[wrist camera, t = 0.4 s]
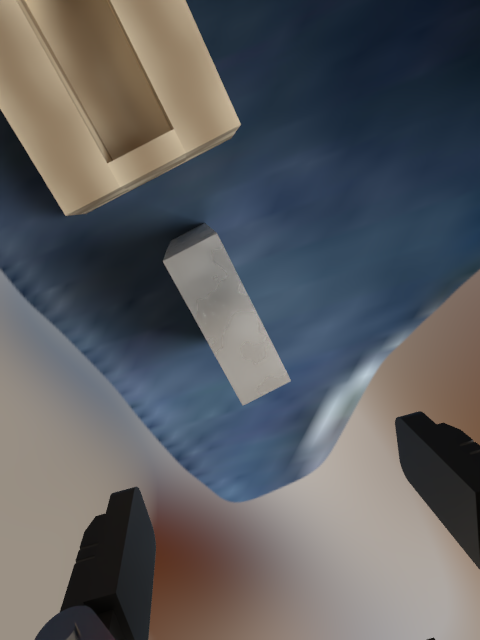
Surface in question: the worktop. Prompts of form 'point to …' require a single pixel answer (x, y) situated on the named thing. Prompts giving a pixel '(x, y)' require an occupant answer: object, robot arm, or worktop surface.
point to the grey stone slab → (224, 313)
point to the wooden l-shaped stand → (108, 93)
